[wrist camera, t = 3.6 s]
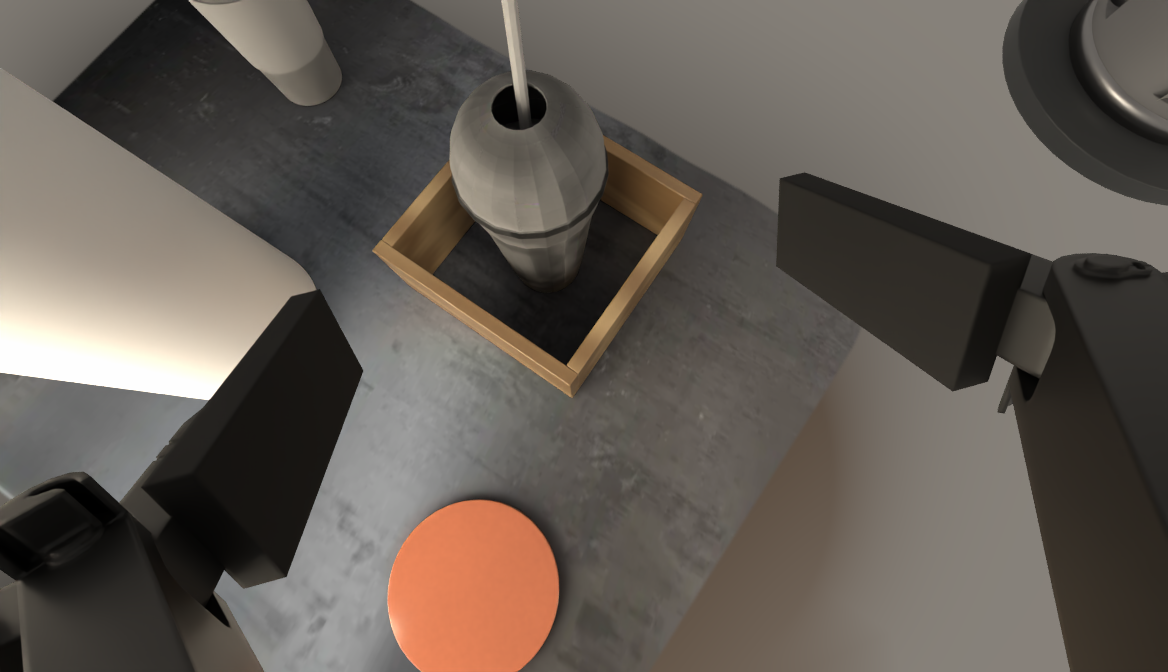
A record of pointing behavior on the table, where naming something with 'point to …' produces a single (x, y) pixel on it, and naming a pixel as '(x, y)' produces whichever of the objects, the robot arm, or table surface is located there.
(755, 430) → the table surface
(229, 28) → the cup
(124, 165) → the tall pillar cylinder
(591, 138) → the beverage cup
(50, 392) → the table surface
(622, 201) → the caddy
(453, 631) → the coaster
